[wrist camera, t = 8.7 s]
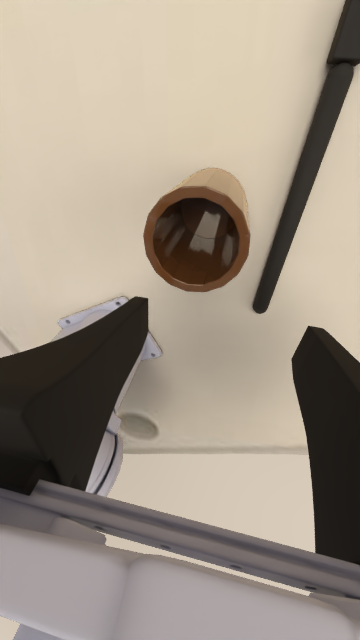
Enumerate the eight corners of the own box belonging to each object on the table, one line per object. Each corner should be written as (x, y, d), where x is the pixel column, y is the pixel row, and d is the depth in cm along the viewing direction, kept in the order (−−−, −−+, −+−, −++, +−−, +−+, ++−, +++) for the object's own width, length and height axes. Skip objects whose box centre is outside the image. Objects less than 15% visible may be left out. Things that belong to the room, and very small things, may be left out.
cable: (266, 309, 22) (267, 317, 21) (249, 306, 22) (249, 314, 21) (398, -48, 10) (414, -67, 9) (360, -49, 11) (372, -67, 10)
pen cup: (193, 250, 20) (172, 303, 13) (166, 188, 17) (124, 216, 11) (254, 226, 18) (262, 274, 11) (232, 153, 15) (227, 162, 9)
